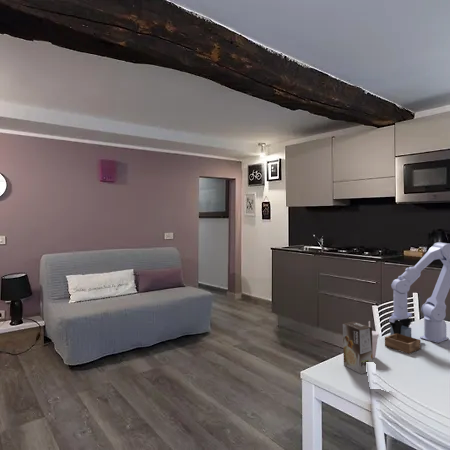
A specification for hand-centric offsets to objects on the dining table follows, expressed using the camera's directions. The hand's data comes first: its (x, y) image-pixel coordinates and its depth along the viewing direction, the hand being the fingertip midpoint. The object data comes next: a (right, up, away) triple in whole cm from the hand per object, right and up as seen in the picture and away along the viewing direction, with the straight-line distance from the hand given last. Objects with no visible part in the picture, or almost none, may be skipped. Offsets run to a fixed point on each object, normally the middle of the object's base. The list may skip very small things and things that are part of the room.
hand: (400, 335), depth 160 cm
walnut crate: (-5, -2, -11) cm, 12 cm away
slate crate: (0, -2, 0) cm, 2 cm away
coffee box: (-31, -3, -29) cm, 42 cm away
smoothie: (-22, -3, -19) cm, 29 cm away
